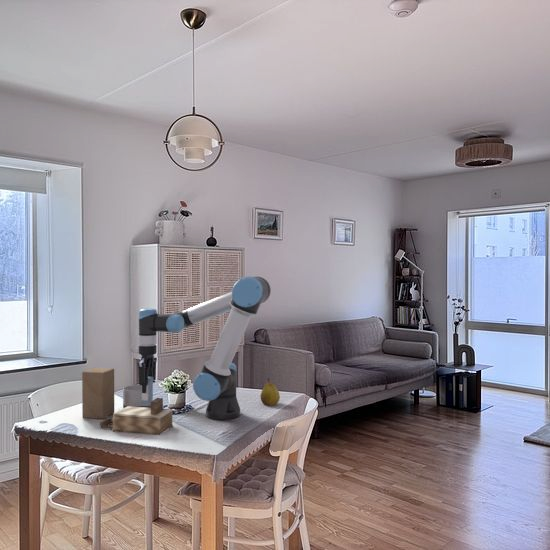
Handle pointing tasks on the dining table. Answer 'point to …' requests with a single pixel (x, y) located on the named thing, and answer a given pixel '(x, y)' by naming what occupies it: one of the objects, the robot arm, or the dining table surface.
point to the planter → (133, 396)
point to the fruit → (270, 394)
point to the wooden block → (98, 393)
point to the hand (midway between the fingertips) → (147, 398)
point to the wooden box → (142, 424)
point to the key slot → (106, 423)
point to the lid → (145, 410)
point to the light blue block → (149, 392)
